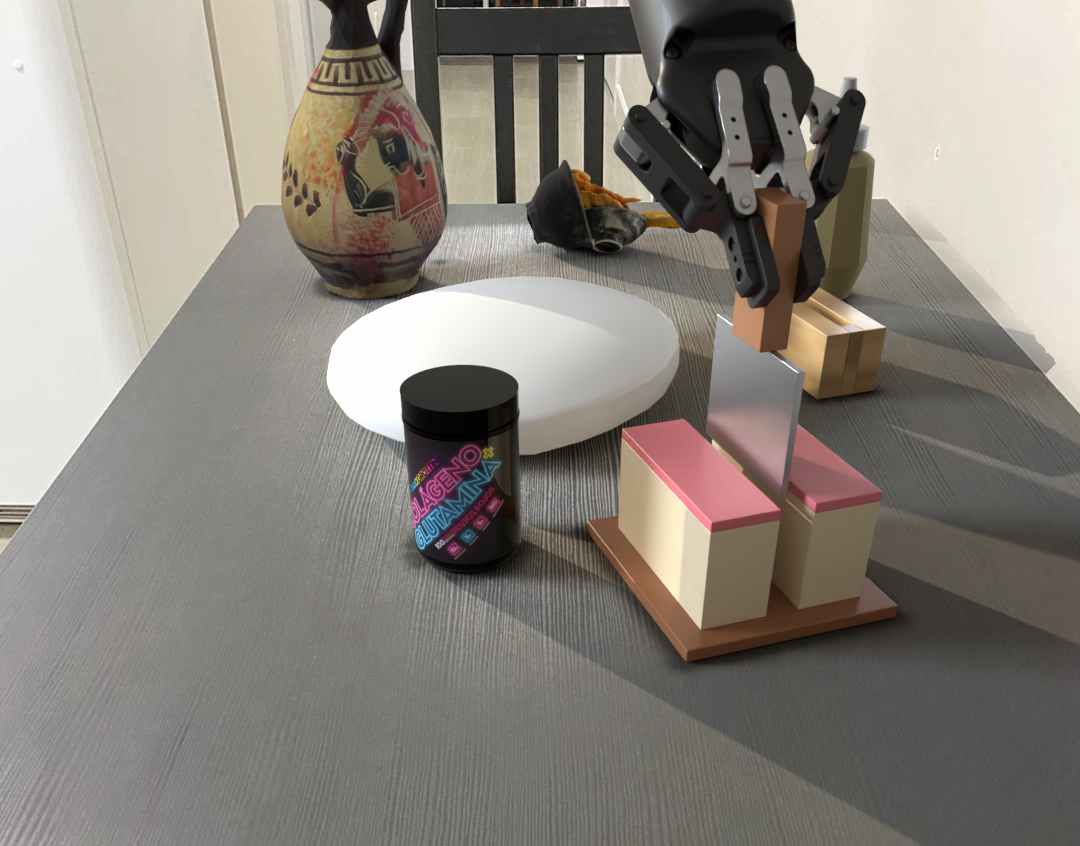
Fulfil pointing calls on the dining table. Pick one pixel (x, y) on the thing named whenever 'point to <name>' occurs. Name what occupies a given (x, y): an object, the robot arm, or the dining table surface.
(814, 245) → the robot arm
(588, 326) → the white round flat disc
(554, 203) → the fried shrimp in bowl
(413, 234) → the ceramic jug
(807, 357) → the knife block
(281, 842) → the dining table surface
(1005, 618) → the dining table surface
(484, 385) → the supplement container
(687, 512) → the cake
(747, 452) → the knife
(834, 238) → the squeeze bottle
